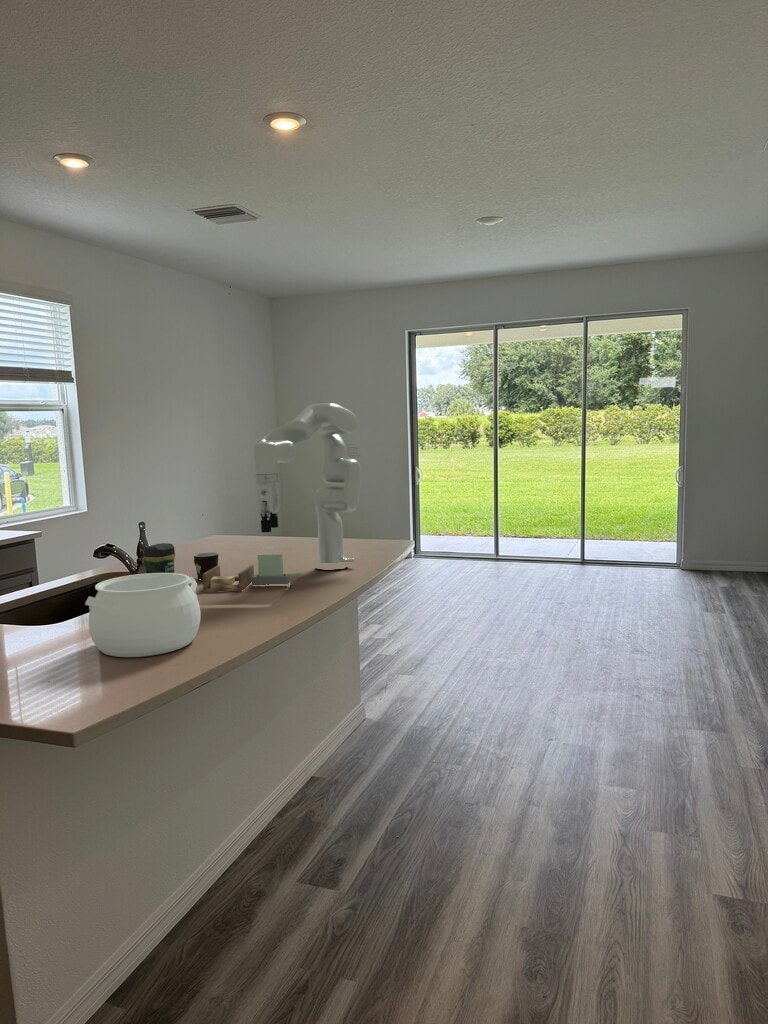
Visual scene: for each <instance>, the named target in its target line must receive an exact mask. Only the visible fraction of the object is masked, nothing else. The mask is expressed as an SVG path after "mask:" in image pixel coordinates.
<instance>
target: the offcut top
mask: <svg viewBox="0 0 768 1024" xmlns="http://www.w3.org/2000/svg"><path fill="white" fill-rule="evenodd" d="M235 577H236V576H235V575H230V576H229V575H227V576H226V575H224V576H223V575H222V576H221V575H220V576H219V577H213V578H212V579H211V585H232V584H233V583H234V582H235Z"/></svg>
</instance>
